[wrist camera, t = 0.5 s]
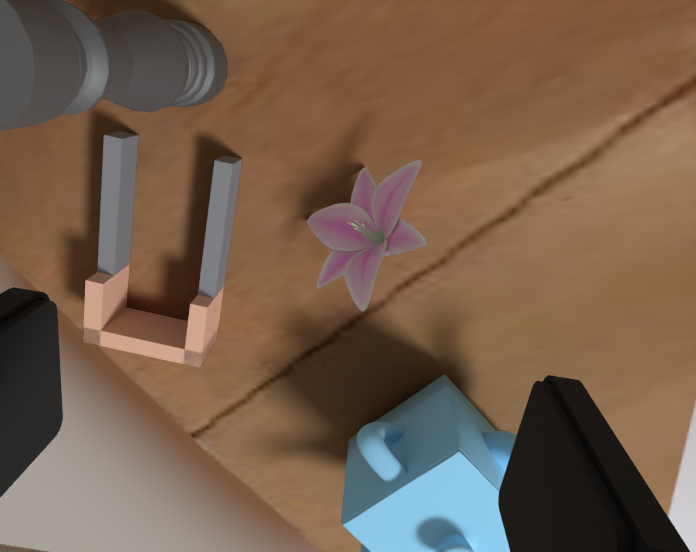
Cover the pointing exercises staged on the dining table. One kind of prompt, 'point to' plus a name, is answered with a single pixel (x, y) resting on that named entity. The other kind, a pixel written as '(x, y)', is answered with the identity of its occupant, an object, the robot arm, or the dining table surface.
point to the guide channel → (114, 258)
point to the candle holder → (100, 61)
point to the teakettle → (427, 477)
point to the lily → (366, 231)
